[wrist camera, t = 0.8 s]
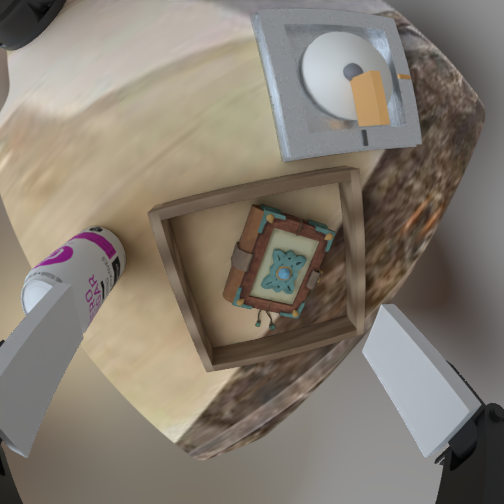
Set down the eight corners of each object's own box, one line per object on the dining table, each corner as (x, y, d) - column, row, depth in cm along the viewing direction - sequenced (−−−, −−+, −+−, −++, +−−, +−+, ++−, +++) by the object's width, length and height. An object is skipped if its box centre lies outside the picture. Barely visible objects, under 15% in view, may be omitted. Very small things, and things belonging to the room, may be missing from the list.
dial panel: (250, 17, 24) (253, 6, 21) (384, 22, 25) (395, 16, 22) (281, 161, 32) (288, 162, 29) (411, 146, 32) (425, 147, 29)
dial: (290, 35, 24) (306, 13, 18) (374, 38, 25) (401, 24, 19) (312, 130, 29) (334, 127, 23) (393, 125, 30) (425, 124, 23)
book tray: (155, 205, 32) (147, 213, 28) (344, 165, 33) (359, 168, 29) (207, 354, 41) (206, 372, 37) (353, 319, 42) (363, 333, 38)
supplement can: (68, 236, 32) (5, 285, 18) (113, 216, 32) (54, 263, 18) (91, 286, 35) (44, 351, 21) (136, 271, 35) (98, 341, 21)
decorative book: (211, 315, 39) (211, 336, 34) (249, 198, 33) (253, 207, 29) (294, 331, 42) (302, 352, 37) (341, 228, 36) (357, 240, 32)
